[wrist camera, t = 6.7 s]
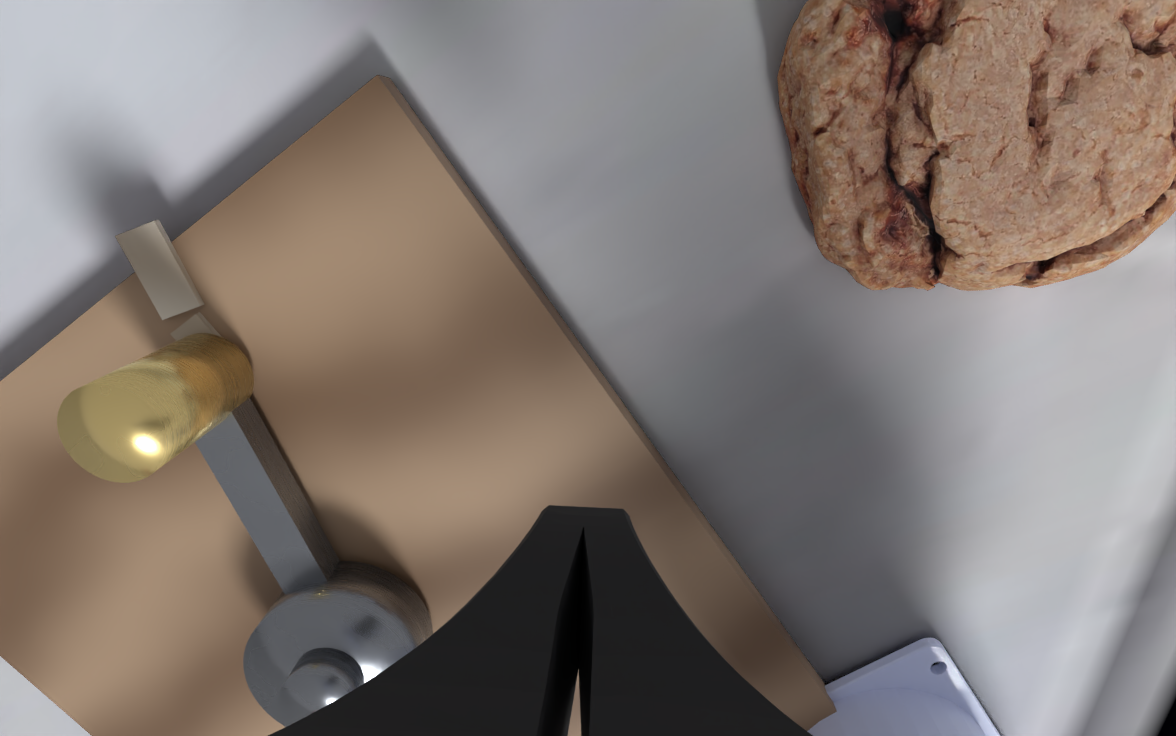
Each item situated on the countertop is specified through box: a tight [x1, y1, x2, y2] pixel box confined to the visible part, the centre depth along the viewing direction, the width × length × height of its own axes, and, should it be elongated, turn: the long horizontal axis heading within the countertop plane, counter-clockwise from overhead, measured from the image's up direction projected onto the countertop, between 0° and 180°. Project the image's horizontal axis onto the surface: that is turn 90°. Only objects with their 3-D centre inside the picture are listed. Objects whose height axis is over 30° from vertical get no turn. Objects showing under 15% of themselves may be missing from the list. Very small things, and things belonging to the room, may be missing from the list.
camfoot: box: [57, 333, 433, 727], centre depth 19 cm, size 13×5×4 cm, turn 20°
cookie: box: [777, 0, 1176, 291], centre depth 16 cm, size 10×11×3 cm
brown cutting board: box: [0, 75, 837, 736], centre depth 22 cm, size 25×22×1 cm
